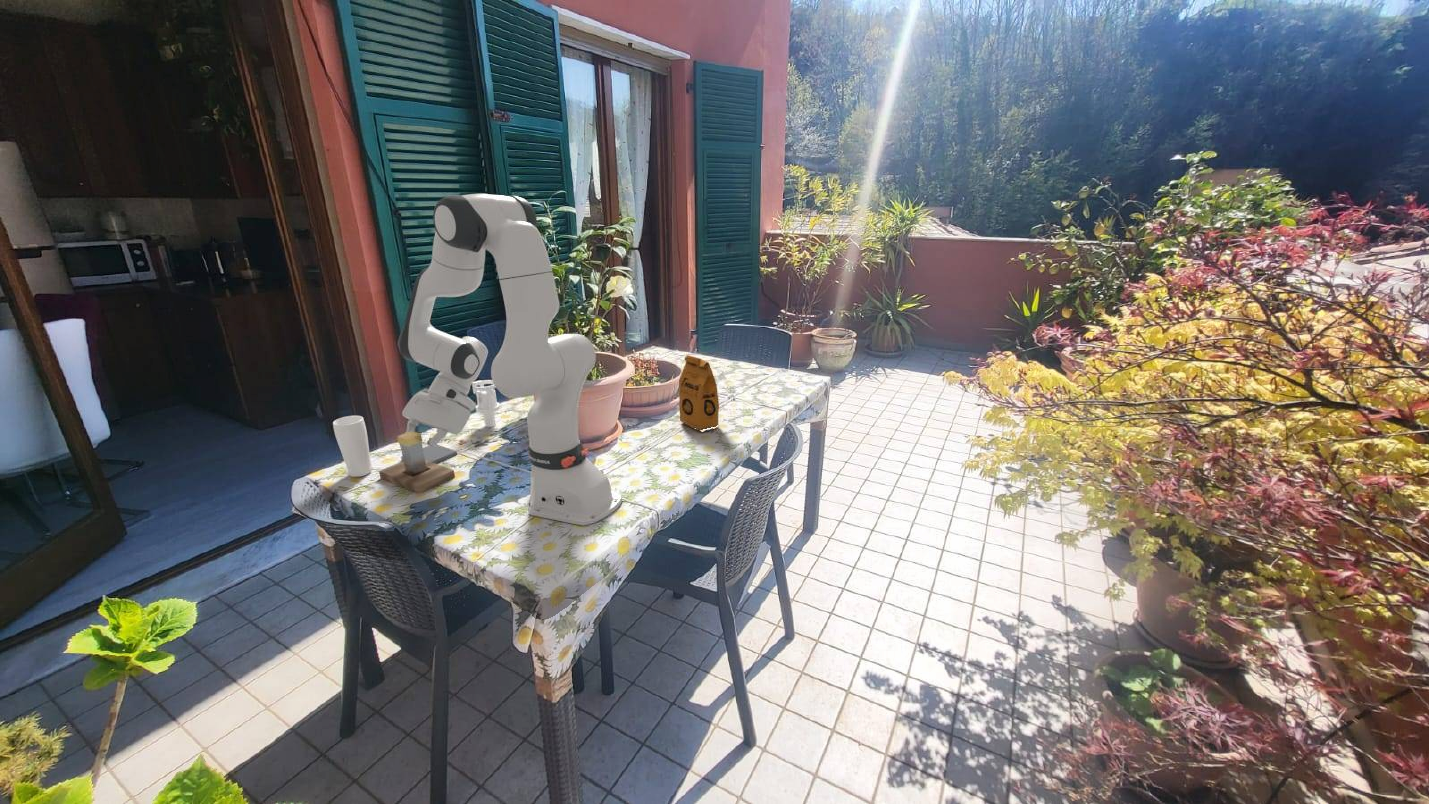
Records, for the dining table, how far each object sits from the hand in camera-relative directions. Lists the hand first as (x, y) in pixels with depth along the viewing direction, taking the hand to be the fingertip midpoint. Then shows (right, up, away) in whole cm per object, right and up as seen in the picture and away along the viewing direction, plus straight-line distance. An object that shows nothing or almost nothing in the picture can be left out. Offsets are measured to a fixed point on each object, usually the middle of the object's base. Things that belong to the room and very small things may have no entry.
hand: (419, 441), depth 145 cm
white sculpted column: (+5, +2, +34) cm, 34 cm away
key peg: (-1, -9, +1) cm, 10 cm away
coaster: (-3, -5, +12) cm, 14 cm away
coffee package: (+71, +2, +34) cm, 79 cm away
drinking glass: (-17, -9, +3) cm, 19 cm away
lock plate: (-1, -9, +1) cm, 10 cm away
